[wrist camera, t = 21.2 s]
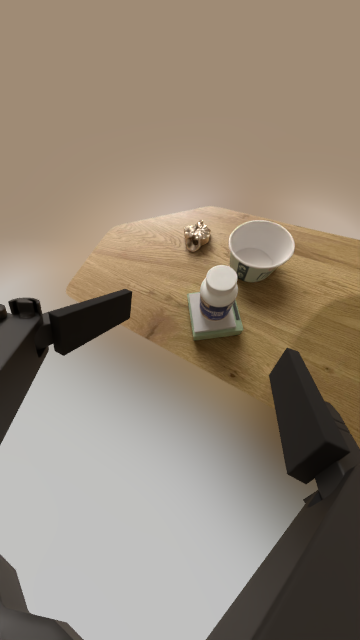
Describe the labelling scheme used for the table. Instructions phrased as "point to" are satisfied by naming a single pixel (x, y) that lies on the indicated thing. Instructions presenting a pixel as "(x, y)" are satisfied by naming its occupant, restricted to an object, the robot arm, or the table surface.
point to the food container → (259, 249)
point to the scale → (209, 328)
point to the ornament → (196, 235)
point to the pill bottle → (218, 293)
